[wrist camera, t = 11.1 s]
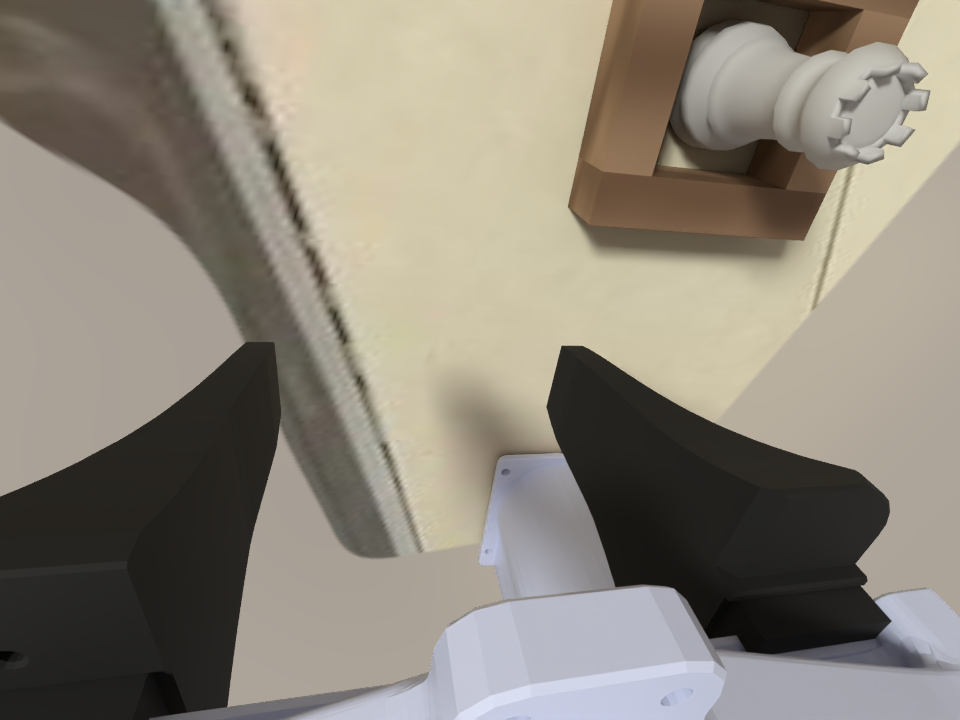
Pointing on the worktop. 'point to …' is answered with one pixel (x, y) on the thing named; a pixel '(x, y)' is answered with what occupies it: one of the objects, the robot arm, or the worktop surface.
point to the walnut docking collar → (645, 114)
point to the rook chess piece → (795, 96)
